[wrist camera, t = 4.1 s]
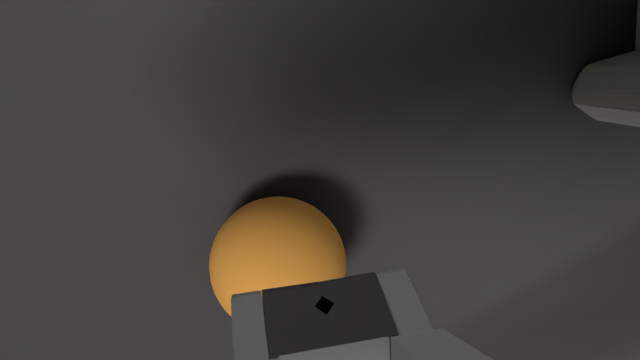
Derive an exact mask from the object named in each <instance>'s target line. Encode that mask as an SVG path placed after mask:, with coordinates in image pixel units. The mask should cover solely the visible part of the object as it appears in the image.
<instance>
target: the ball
mask: <svg viewBox="0 0 640 360" xmlns="http://www.w3.org/2000/svg"><path fill="white" fill-rule="evenodd" d="M209 272H210V279H211V284H212V287H213V290H214V293H215V295H216V297H217V299H218V301H219V302H220V304H221V305H222V307H223V308H224V310H225V311H226V312H227V313H228V314H229V315H230V316H231V297H232V294H239V293H246V292H252V291H259V290H260V291H261V293H262V290H263V289H270V288H277V287H284V286H291V285H298V284H305V283H312V282H319V281H325V280H331V279H337V278H342V277H345V274H346V255H345V250H344V246H343V243H342V240H341V237H340V235H339V233H338V231H337V229H336V228H335V226H334V225H333V224H332V222H331V221H330V220H329V219H328V218H327V217H326V216H325V215H324V214H323V213H322V212H321V211H319V210H318V209H317V208H315V207H314V206H312V205H310V204H308V203H306V202H304V201H301V200H298V199H295V198H291V197H280V196H275V197H267V198H262V199H258V200H255V201H252V202H250V203H248V204H246V205H244V206H243V207H241V208H239V209H238V210H237V211H236V212H234V213H233V214H232V215H231V216H230V217H229V218H228V219H227V220H226V221H225V223H224V224H223V225H222V227H221V228H220V230H219V231H218V233H217V235H216V237H215V240H214V242H213V245H212V248H211V253H210V260H209ZM262 298H263V297H262ZM231 317H232V316H231Z"/></svg>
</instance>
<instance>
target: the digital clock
mask: <svg viewBox="0 0 640 360" xmlns="http://www.w3.org/2000/svg"><path fill="white" fill-rule="evenodd" d="M572 100H573V104H574V105H576V106H577V107H578V108H580V109H581V110H582V111H583V112H585V113H586V114H588V115H589V116H591V117H592V118H593V119H595V120H599V121H605V122H611V123H617V124H623V125H630V126H636V127H640V0H638V6H637V24H636V42H635V51H632V52H629V53H625V54H622V55H618V56H615V57H612V58H608V59H605V60H602V61H598V62H595V63H592V64H589V65H587V66H586V67H584V68H583V70H582V71H581V73H580V74H579V76H578V77H577V79H576V81H575V83H574V85H573V90H572Z"/></svg>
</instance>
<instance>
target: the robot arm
mask: <svg viewBox="0 0 640 360" xmlns="http://www.w3.org/2000/svg"><path fill="white" fill-rule="evenodd" d="M262 297H263V298H262ZM231 316H232V337H233V357H234V360H493V359H492V358H490V357H488V356H487V355H485V354H483V353H482V352H480V351H478V350H477V349H475V348H473V347H472V346H470V345H468V344H467V343H465V342H463V341H462V340H460V339H458V338H457V337H455V336H453V335H452V334H450V333H448V332H447V331H445V330H443V329H442V328H440V329H434V330H433V329H432V326H431V324H430V322H429V320H428V318H427V316H426V314H425V312H424V309H423V307H422V305H421V303H420V301H419V299H418V297H417V294H416V292H415V290H414V288H413V286H412V284H411V282H410V280H409V277H408V275H407V273H406V271H405V269H404V268H402V267H401V266H399V267H394V268H389V269H384V270H378V271H374V272H373V273H372V272H371V273H366V274H360V275H354V276H348V277H342V278H337V279H331V280H325V281H319V282H312V283H305V284H298V285H291V286H284V287H277V288H270V289H263V290H262V293H261V291H260V290H259V291H252V292H246V293H239V294H232V297H231Z"/></svg>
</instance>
